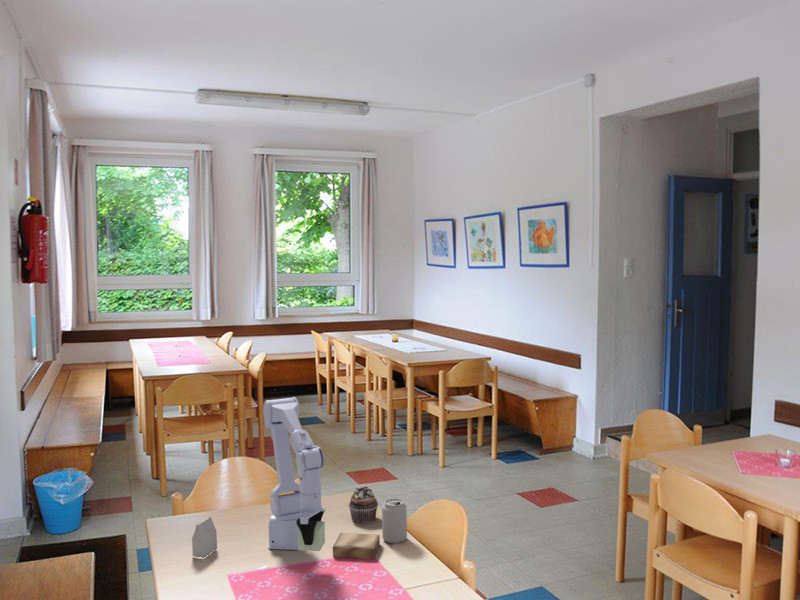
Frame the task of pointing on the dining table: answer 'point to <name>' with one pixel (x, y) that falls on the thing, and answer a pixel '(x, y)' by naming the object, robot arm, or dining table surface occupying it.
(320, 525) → the green cube
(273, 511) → the robot arm
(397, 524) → the can
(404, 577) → the dining table surface
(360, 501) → the cupcake
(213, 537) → the grey angular block
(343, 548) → the brown shallow tray
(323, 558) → the dining table surface
